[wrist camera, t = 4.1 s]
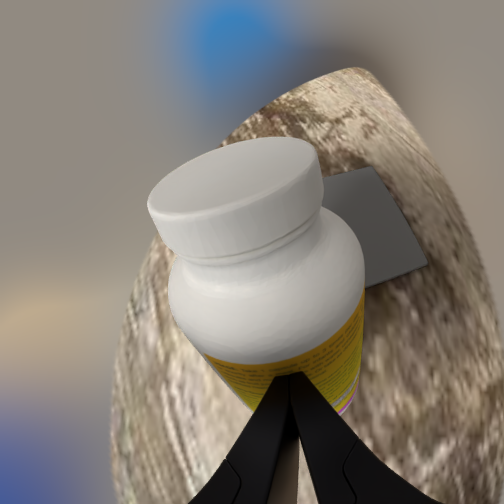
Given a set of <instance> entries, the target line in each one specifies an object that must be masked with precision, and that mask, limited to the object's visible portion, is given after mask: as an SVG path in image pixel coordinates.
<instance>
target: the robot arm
mask: <svg viewBox="0 0 504 504" xmlns="http://www.w3.org/2000/svg"><path fill="white" fill-rule="evenodd" d="M299 437H300V441H301V444H302V448H303V451H304V455H305V458H306V462H307V466H308V469H309V473H310V476H311V480H312V483H313V487H314V490H315V494H316V497H317V501H318V504H444V503H441V502H438V501H436V500H434V499H432V498H430V497H429V496H427V495H425V494H424V493H422V492H421V491H419V490H418V489H417V488H415V487H414V486H413V485H411V484H410V483H408V482H407V481H406V480H404V479H403V478H402V477H400V476H399V475H398V474H396V473H395V472H394V471H393V470H391V469H390V468H389V467H388V466H387V465H385V464H384V463H383V462H382V461H381V460H380V459H379V458H378V457H377V456H376V455H375V454H374V453H373V452H372V451H371V450H370V449H369V448H368V447H367V446H366V445H365V444H364V443H363V441H362V440H361V439H359V437H358V436H357V435H356V434H355V433H354V431H353V430H352V429H351V428H350V427H349V426H348V424H347V423H346V422H345V421H344V420H343V419H342V417H341V416H340V415H339V414H338V413H337V412H336V410H335V409H334V408H333V407H332V406H331V404H330V403H329V402H328V401H327V400H326V399H325V397H324V396H323V395H322V394H321V393H320V391H319V390H318V389H317V388H316V386H315V385H314V384H313V383H312V382H311V380H310V379H309V378H308V377H307V376H306V374H305V373H304V372H303V371H299V372H295V373H291V374H289V375H281V376H275V377H274V378H273V380H272V382H271V383H270V385H269V387H268V389H267V390H266V392H265V394H264V396H263V397H262V399H261V401H260V403H259V404H258V406H257V408H256V409H255V411H254V413H253V414H252V416H251V418H250V419H249V421H248V423H247V424H246V426H245V428H244V429H243V431H242V432H241V434H240V436H239V437H238V439H237V440H236V442H235V444H234V445H233V447H232V448H231V450H230V451H229V453H228V454H227V456H226V459H227V460H226V459H224V460H223V462H222V463H221V465H220V466H219V468H218V469H217V470H216V472H215V473H214V475H213V476H212V477H211V479H210V480H209V481H208V482H207V484H206V485H205V486H204V487H203V488H202V489H201V490H200V491H199V493H198V494H197V495H196V496H195V497H194V498H193V499H192V500H191V501H190V502H189V503H188V504H297V491H298V471H299Z"/></svg>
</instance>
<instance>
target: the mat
mask: <svg viewBox="0 0 504 504" xmlns="http://www.w3.org/2000/svg"><path fill="white" fill-rule="evenodd" d="M322 179H323V186H324V195H323V199H322V205H321V206H322V207H324V208H326V209H328V210H330V211H332V212H333V213H335V214H336V215H338V216H339V217H340V218H341V219H343V220H344V221H345V222H346V223H347V225H348V226H349V227H350V228H351V229H352V231H353V232H354V234H355V235H356V237H357V239H358V241H359V243H360V246H361V249H362V253H363V257H364V265H365V288H368V287H370V286H373V285H376V284H379V283H382V282H385V281H387V280H390V279H393V278H395V277H398V276H401V275H403V274H406V273H409V272H411V271H414V270H416V269H419V268H422V267H424V266H427V264H428V261H427V259H426V257H425V255H424V253H423V251H422V249H421V247H420V245H419V243H418V241H417V239H416V237H415V236H414V234H413V232H412V230H411V228H410V226H409V225H408V223H407V221H406V219H405V217H404V216H403V214H402V212H401V211H400V209H399V207H398V206H397V204H396V202H395V201H394V199H393V197H392V196H391V194H390V192H389V191H388V189H387V188H386V186H385V185H384V183H383V181H382V180H381V178H380V177H379V175H378V174H377V172H376V171H375V169H374V168H373V167H372V166H369V167H365V168H361V169H357V170H353V171H349V172H345V173H341V174H337V175H333V176H329V177H325V178H322Z"/></svg>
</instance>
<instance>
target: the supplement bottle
mask: <svg viewBox="0 0 504 504" xmlns="http://www.w3.org/2000/svg"><path fill="white" fill-rule="evenodd" d="M323 195H324V186H323V179H322V174H321V169H320V164H319V160H318V155H317V152H316V150H315V148H314V147H313V146H312V145H311V144H310V143H308V142H306V141H304V140H301V139H297V138H291V137H266V138H257V139H251V140H246V141H241V142H237V143H234V144H230V145H227V146H224V147H221V148H218V149H215V150H213V151H210V152H207V153H205V154H203V155H200V156H198V157H196V158H194V159H192V160H190V161H188V162H186V163H185V164H183V165H181V166H180V167H178V168H177V169H175V170H174V171H172V172H171V173H170V174H168V175H167V176H166V177H165V178H163V179H162V180H161V181H160V182H159V183H158V184H157V185H156V186H155V188H154V189H153V190H152V192H151V194H150V196H149V198H148V202H147V206H148V210H149V213H150V215H151V217H152V219H153V221H154V223H155V225H156V227H157V229H158V232H159V234H160V236H161V238H162V240H163V242H164V243H165V244H166V246H167V247H168V248H170V249H171V250H172V251H173V252H174V253H175V254H176V255H177V257H176V259H175V261H174V264H173V266H172V269H171V273H170V277H169V283H168V298H169V304H170V309H171V312H172V314H173V317H174V319H175V321H176V323H177V325H178V326H179V328H180V329H181V331H182V332H183V333H184V335H185V336H186V337H187V338H188V340H189V341H190V342H191V343H192V344H193V346H194V347H195V348H196V349H197V350H198V352H199V353H200V354H201V355H202V356H203V358H204V359H205V360H206V361H207V363H208V364H209V365H210V366H211V367H212V369H213V370H214V371H215V372H216V373H217V374H218V376H219V377H220V378H221V379H222V380H223V381H224V383H225V384H226V385H227V386H228V387H229V388H230V389H231V391H232V392H233V393H234V394H235V395H236V396H237V397H238V398H239V400H240V401H241V402H242V403H243V404H244V405H245V406H246V407H247V408H248V409H249V410H250V411H251V412H252V413H254V411H255V409H256V408H257V406H258V404H259V403H260V401H261V399H262V397H263V396H264V394H265V392H266V390H267V389H268V387H269V385H270V383H271V382H272V380H273V378H274V377H275V376H281V375H289V374H291V373H295V372H299V371H303V372H304V373H305V374H306V376H307V377H308V378H309V379H310V380H311V382H312V383H313V384H314V385H315V386H316V388H317V389H318V390H319V391H320V393H321V394H322V395H323V396H324V397H325V399H326V400H327V401H328V402H329V403H330V404H331V406H332V407H333V408H334V409H335V410H336V412H337V413H338V414H339V415H341V414H342V413H343V412H344V411H345V410H346V409H347V407H348V406H349V405H350V403H351V401H352V400H353V398H354V396H355V393H356V391H357V387H358V382H359V376H360V365H361V353H362V341H363V323H364V297H365V265H364V257H363V253H362V249H361V246H360V243H359V241H358V239H357V237H356V235H355V234H354V232H353V231H352V229H351V228H350V227H349V226H348V225H347V223H346V222H345V221H344V220H343V219H341V218H340V217H339V216H338V215H336V214H335V213H333V212H332V211H330V210H328V209H326V208H324V207H322V206H321V205H322V199H323Z"/></svg>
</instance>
